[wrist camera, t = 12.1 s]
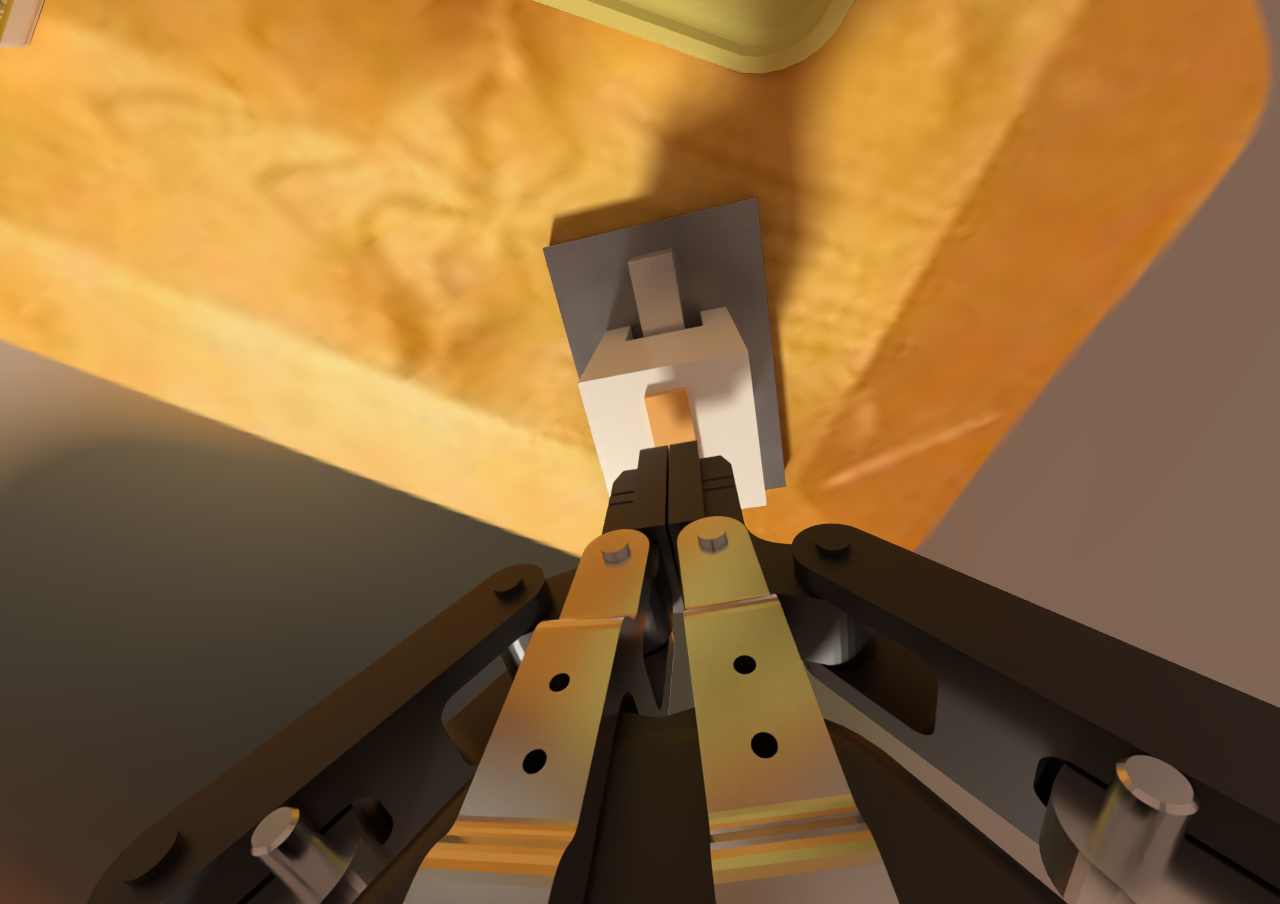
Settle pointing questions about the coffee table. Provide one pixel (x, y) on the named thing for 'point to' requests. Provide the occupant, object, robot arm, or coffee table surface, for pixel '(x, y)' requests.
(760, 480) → the block
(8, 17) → the ceramic cup
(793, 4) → the plastic component
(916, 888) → the robot arm
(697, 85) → the coffee table surface
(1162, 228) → the coffee table surface
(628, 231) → the panel
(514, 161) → the coffee table surface
